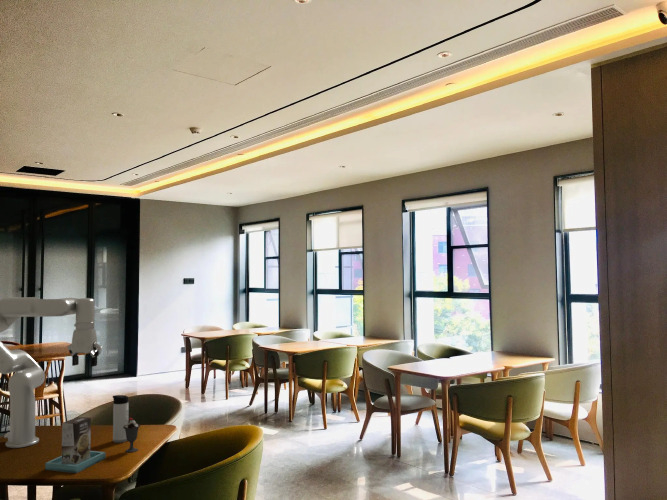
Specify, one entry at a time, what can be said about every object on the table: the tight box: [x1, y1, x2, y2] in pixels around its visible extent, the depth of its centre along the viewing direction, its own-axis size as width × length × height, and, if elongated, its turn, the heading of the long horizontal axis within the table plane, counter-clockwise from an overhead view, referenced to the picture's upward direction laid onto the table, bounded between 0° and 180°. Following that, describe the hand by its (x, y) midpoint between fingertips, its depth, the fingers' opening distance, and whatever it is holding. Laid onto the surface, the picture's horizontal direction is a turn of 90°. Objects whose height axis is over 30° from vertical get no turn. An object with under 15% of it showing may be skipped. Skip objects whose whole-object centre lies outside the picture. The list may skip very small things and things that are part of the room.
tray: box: [44, 450, 107, 474], centre depth 211 cm, size 14×16×2 cm
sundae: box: [123, 413, 141, 454], centre depth 227 cm, size 7×7×15 cm
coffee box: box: [61, 416, 92, 465], centre depth 211 cm, size 9×6×16 cm
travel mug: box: [112, 394, 129, 444], centre depth 240 cm, size 6×7×20 cm
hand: (84, 365), depth 239 cm, fingers open, 9 cm apart
